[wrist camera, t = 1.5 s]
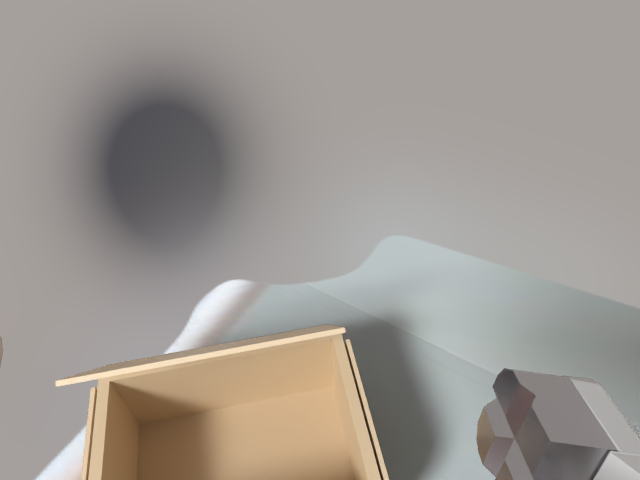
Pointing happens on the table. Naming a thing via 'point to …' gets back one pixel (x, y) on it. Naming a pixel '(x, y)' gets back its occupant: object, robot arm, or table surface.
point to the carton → (237, 419)
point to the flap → (203, 353)
